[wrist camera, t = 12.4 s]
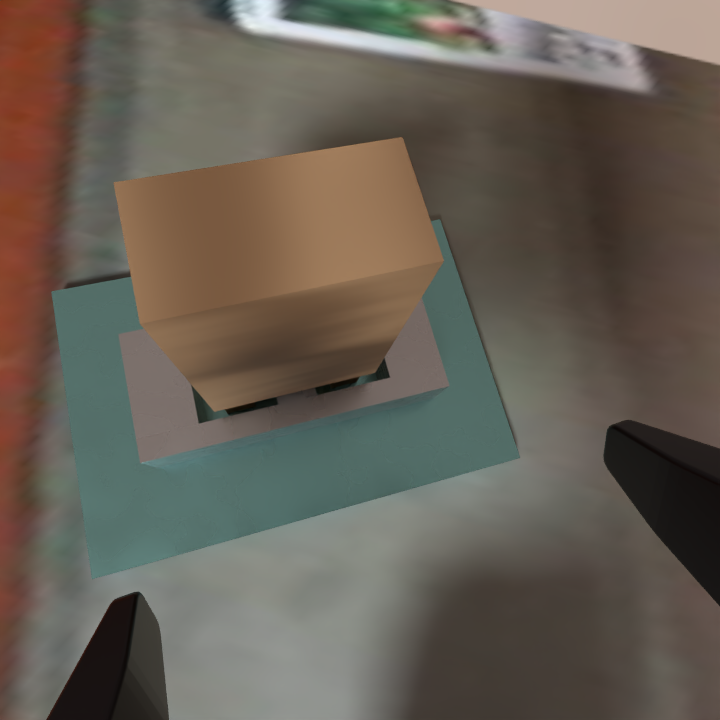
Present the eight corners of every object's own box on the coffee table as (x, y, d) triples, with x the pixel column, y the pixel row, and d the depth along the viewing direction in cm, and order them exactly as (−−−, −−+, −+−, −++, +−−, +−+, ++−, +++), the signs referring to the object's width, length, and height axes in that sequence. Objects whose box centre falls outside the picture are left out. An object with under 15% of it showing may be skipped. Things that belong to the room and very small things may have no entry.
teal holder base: (436, 227, 27) (454, 190, 24) (512, 459, 24) (546, 452, 21) (59, 298, 23) (23, 266, 20) (99, 576, 21) (64, 589, 18)
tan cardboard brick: (345, 329, 24) (402, 136, 11) (363, 392, 23) (444, 260, 11) (211, 358, 23) (113, 182, 10) (226, 426, 22) (140, 323, 10)
